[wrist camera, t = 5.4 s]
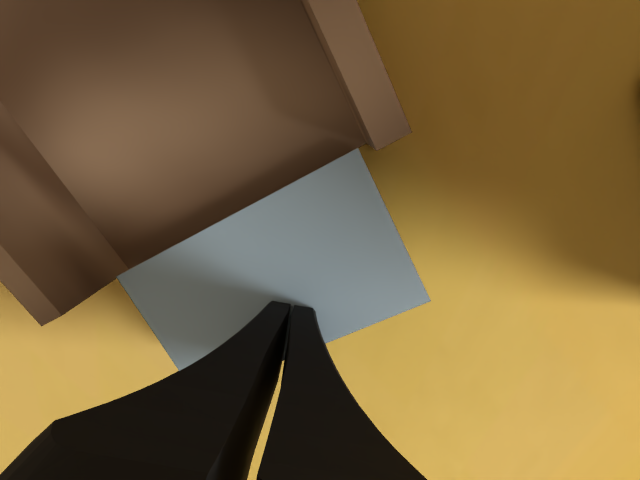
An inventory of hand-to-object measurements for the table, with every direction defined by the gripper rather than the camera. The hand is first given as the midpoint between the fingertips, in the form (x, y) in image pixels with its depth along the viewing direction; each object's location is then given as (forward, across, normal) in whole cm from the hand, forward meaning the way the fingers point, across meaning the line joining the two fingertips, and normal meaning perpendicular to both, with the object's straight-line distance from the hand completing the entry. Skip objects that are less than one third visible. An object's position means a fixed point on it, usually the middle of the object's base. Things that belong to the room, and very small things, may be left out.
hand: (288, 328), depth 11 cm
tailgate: (+1, +2, -3) cm, 4 cm away
